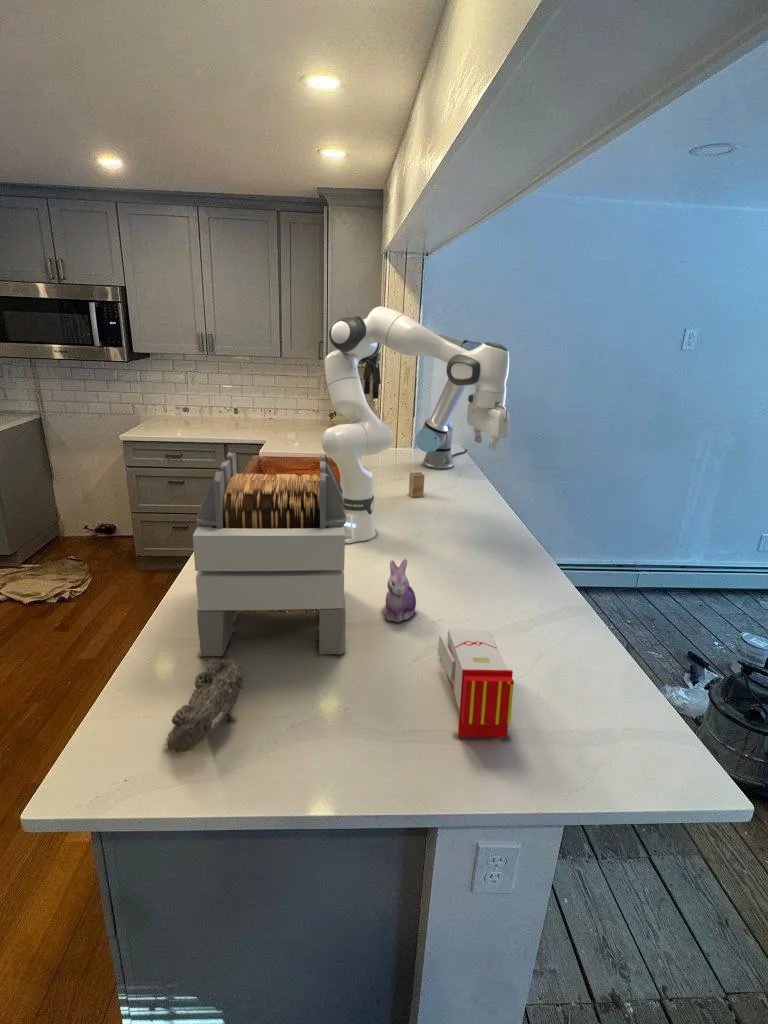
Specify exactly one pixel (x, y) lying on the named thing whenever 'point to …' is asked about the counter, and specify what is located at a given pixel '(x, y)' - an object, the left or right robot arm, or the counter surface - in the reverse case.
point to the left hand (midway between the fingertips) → (484, 446)
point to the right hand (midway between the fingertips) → (371, 396)
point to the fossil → (206, 705)
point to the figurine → (399, 594)
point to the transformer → (270, 552)
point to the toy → (478, 682)
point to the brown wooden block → (416, 484)
